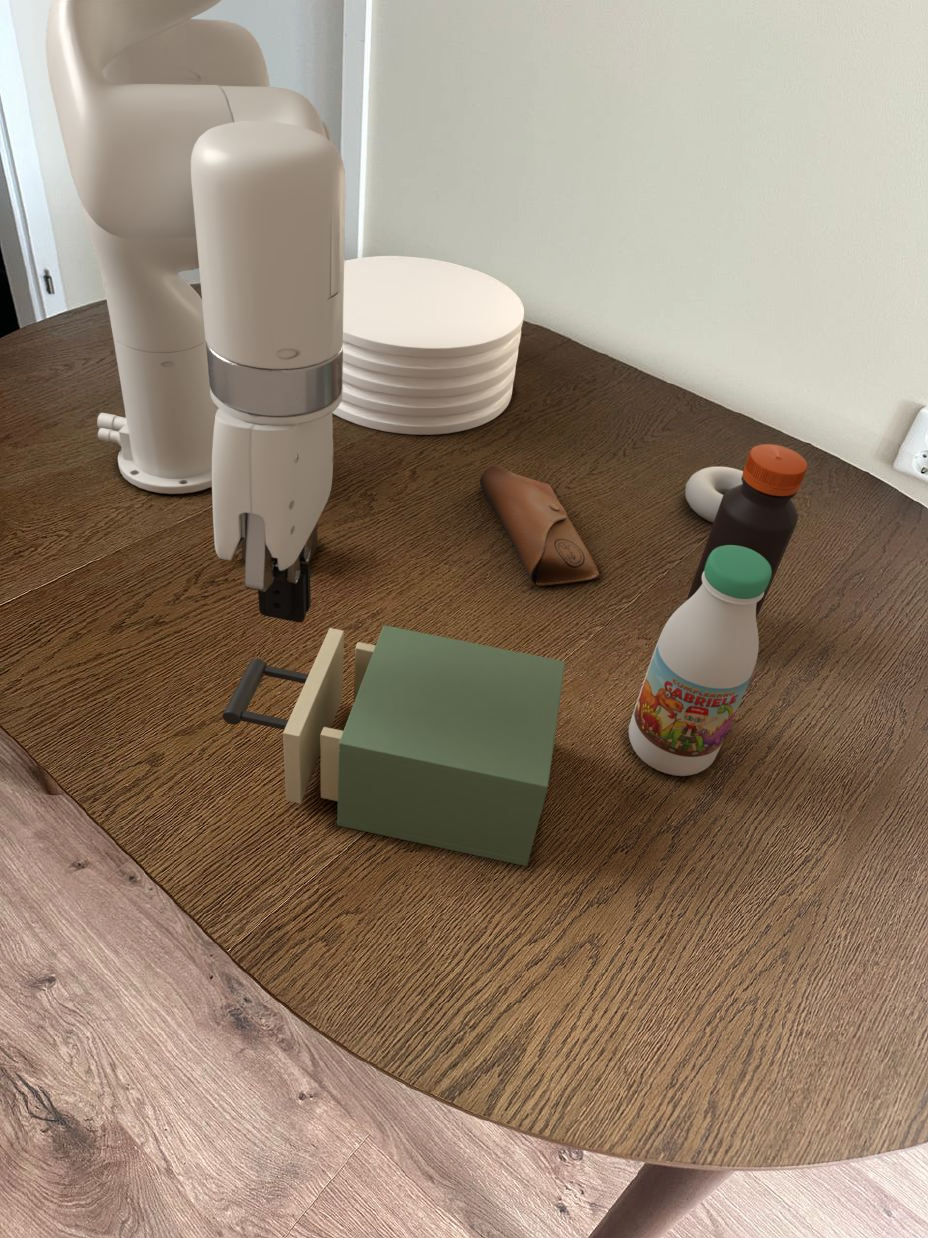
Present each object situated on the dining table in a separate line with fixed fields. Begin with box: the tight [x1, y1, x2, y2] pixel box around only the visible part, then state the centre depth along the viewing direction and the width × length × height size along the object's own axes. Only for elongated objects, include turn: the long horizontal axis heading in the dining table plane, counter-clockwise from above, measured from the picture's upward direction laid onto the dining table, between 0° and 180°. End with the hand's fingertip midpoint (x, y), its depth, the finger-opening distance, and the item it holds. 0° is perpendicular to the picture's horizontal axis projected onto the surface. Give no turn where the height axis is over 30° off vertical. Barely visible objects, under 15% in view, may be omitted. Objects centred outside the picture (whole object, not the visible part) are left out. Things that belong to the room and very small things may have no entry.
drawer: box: [222, 627, 376, 805], centre depth 70 cm, size 19×11×8 cm, turn 80°
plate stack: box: [332, 255, 525, 436], centre depth 119 cm, size 28×28×12 cm
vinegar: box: [685, 443, 809, 620], centre depth 84 cm, size 7×7×20 cm
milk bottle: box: [628, 545, 772, 777], centre depth 72 cm, size 8×8×20 cm
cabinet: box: [336, 625, 566, 867], centre depth 70 cm, size 15×13×10 cm
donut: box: [684, 466, 743, 524], centre depth 106 cm, size 10×4×10 cm
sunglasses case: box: [479, 464, 600, 587], centre depth 99 cm, size 18×7×7 cm
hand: (285, 611), depth 64 cm, fingers closed
